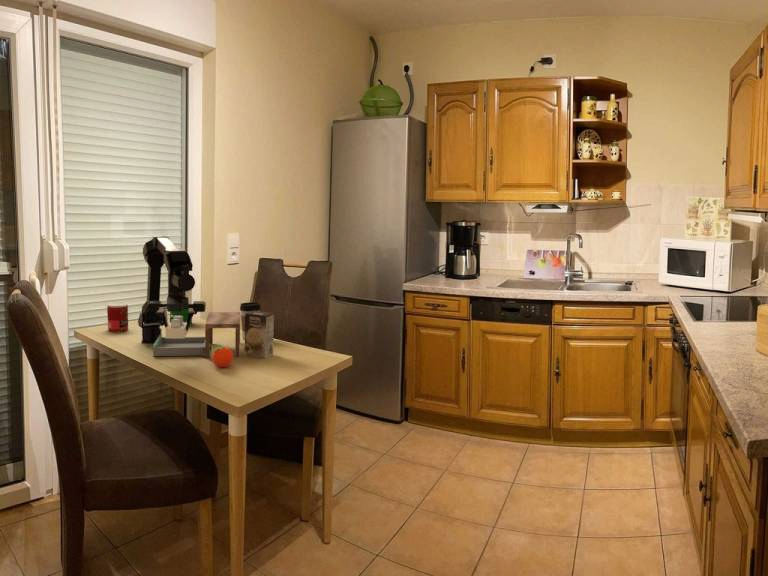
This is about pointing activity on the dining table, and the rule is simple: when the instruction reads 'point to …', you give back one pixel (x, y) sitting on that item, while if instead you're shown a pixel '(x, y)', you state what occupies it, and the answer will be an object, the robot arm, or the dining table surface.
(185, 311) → the milk carton
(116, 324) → the canned food
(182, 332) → the cream toy brick
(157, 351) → the drawer
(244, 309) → the black lidded jar
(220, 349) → the clementine
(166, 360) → the dining table surface
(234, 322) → the wooden stand
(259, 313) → the coffee box
